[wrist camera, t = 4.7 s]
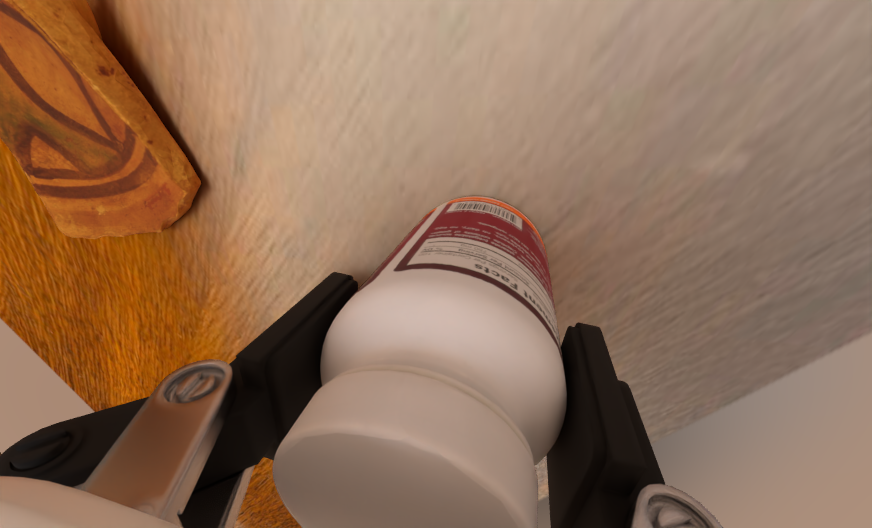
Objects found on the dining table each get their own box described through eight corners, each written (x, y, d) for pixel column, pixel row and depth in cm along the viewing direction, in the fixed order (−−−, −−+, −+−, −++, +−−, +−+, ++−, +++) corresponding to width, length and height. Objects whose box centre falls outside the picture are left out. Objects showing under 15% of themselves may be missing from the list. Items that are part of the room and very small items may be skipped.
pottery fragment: (-8, -62, 11) (124, 226, 13) (146, 1, 15) (228, 211, 17) (-100, 58, 15) (14, 268, 17) (44, 82, 19) (121, 247, 21)
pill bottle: (451, 329, 17) (355, 613, 8) (389, 229, 16) (165, 428, 6) (570, 290, 15) (652, 646, 5) (510, 165, 13) (463, 332, 3)
